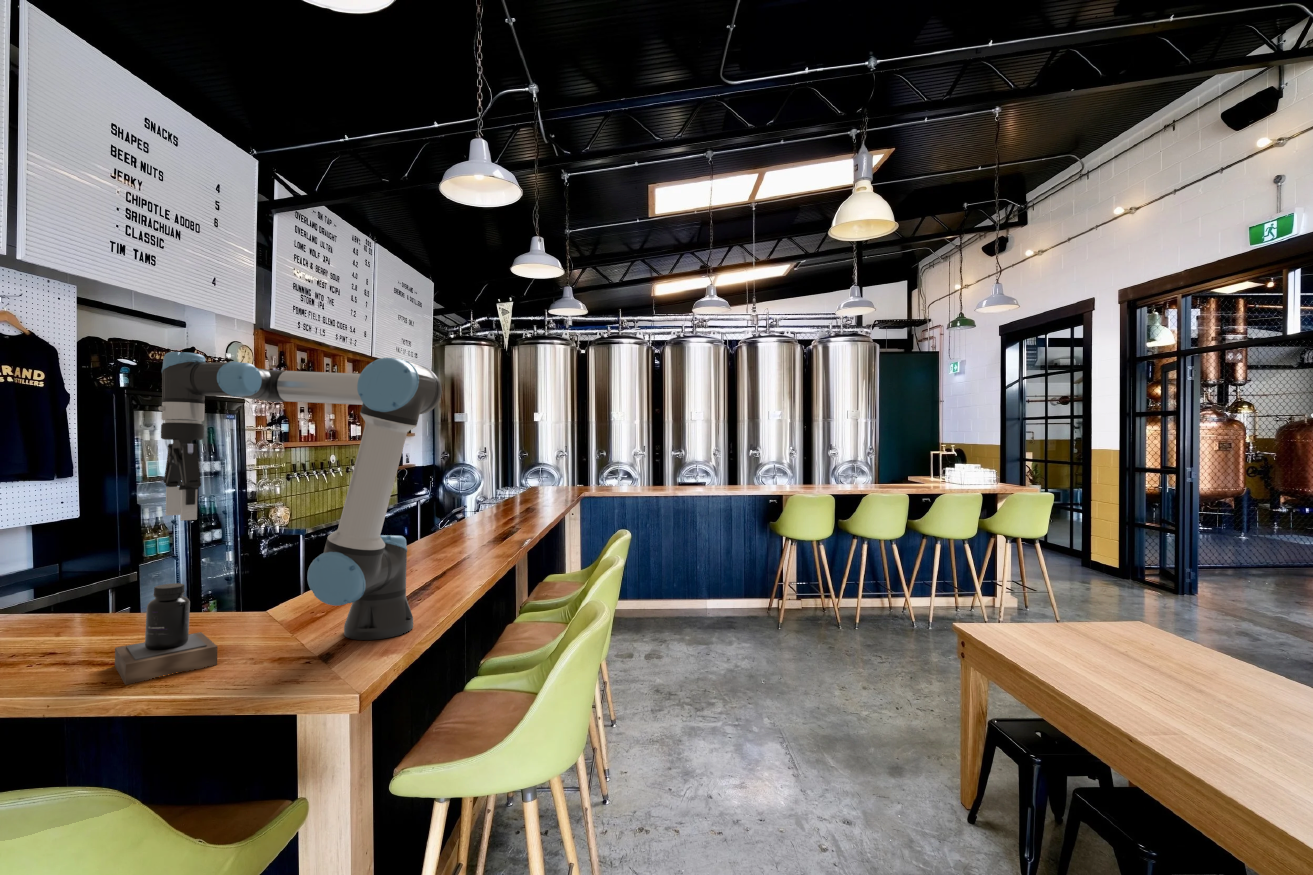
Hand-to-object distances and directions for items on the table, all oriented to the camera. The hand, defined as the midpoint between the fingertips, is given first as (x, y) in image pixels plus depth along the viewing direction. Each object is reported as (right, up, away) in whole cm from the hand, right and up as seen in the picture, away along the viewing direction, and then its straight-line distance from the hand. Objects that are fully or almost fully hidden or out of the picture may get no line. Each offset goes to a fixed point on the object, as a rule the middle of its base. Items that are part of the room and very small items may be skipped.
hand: (180, 517), depth 133 cm
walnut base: (+7, -28, -13) cm, 32 cm away
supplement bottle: (+7, -24, -13) cm, 28 cm away
